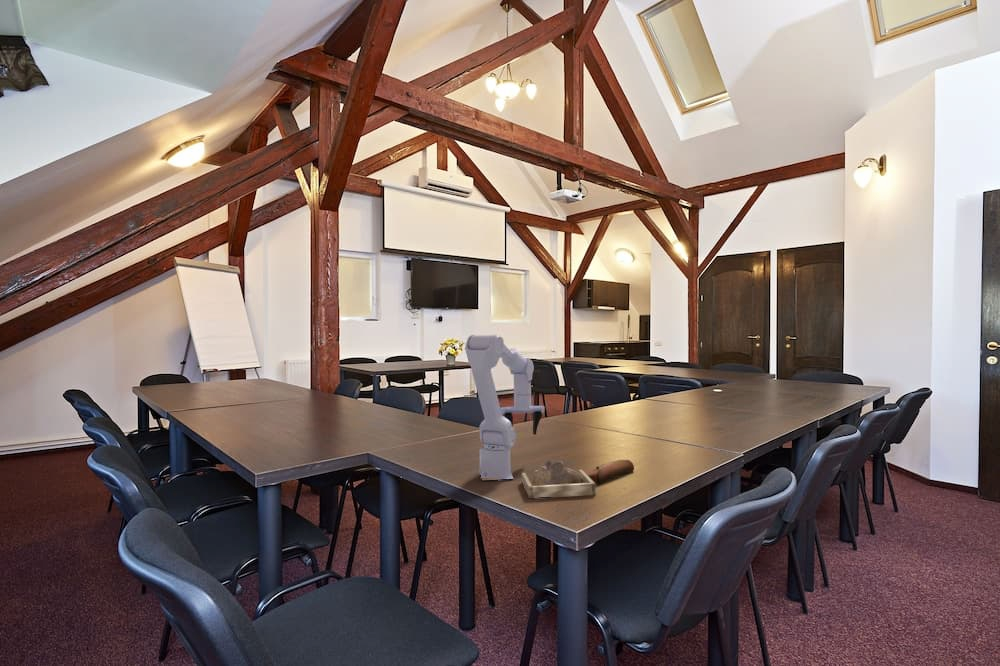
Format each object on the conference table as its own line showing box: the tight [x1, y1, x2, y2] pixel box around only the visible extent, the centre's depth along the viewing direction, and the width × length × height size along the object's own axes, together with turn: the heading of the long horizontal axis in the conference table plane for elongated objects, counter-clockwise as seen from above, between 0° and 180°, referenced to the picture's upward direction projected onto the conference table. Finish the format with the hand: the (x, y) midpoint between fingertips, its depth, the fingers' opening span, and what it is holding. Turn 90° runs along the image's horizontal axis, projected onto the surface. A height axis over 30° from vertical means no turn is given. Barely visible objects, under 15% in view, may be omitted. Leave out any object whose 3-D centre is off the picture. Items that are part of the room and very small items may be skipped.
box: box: [521, 469, 597, 499], centre depth 136 cm, size 18×13×3 cm
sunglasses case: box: [585, 459, 635, 486], centre depth 147 cm, size 18×7×7 cm, turn 133°
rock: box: [531, 460, 582, 486], centre depth 139 cm, size 6×14×7 cm, turn 94°
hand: (523, 434), depth 162 cm, fingers open, 7 cm apart
